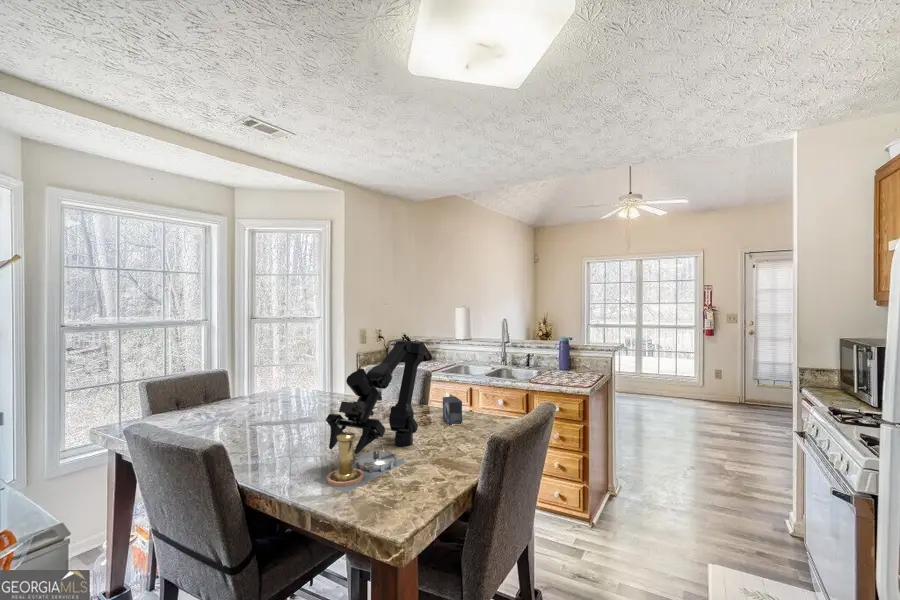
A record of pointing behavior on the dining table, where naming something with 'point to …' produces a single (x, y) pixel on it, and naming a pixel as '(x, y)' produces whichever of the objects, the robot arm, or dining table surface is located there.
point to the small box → (452, 410)
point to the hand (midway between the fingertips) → (342, 450)
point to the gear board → (360, 480)
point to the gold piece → (345, 458)
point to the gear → (376, 461)
